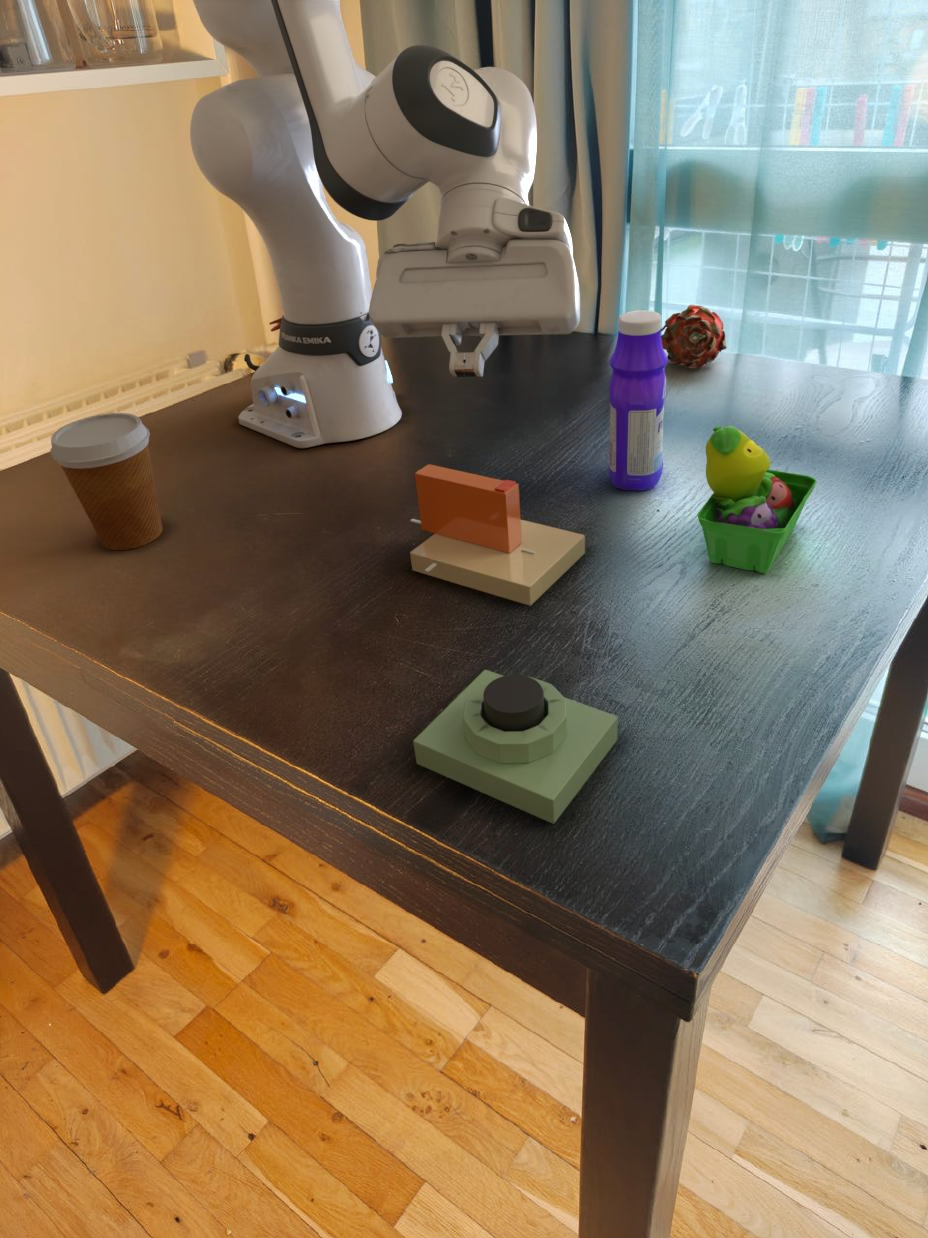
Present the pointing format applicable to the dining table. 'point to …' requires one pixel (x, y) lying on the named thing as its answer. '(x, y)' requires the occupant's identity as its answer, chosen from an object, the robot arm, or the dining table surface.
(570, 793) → the button box
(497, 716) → the button
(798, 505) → the fruit basket
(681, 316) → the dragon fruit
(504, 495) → the orange block
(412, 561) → the beige rectangular board
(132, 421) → the disposable coffee cup
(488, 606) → the dining table surface
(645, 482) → the bottle
